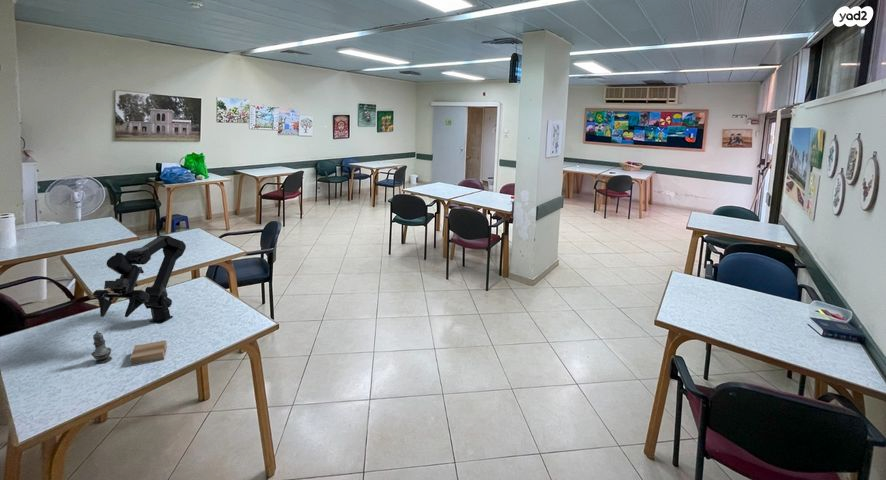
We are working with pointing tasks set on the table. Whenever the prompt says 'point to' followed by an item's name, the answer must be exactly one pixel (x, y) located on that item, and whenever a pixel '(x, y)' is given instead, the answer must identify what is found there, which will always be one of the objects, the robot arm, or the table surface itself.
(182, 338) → the table surface
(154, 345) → the walnut pedestal
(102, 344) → the grey chess bishop
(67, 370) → the table surface
